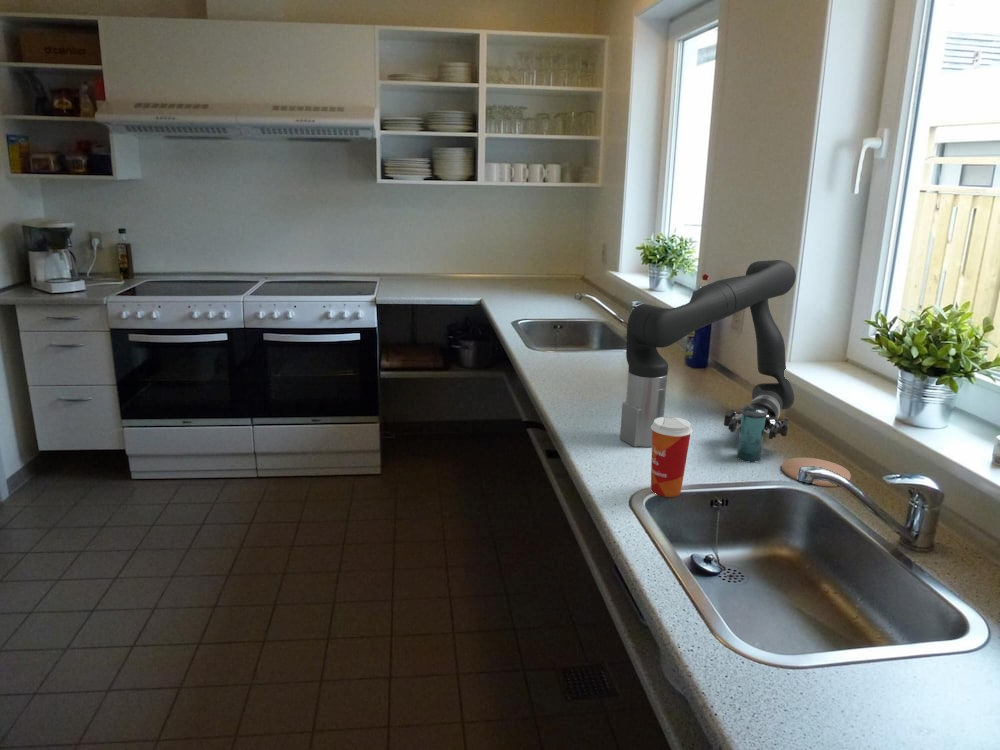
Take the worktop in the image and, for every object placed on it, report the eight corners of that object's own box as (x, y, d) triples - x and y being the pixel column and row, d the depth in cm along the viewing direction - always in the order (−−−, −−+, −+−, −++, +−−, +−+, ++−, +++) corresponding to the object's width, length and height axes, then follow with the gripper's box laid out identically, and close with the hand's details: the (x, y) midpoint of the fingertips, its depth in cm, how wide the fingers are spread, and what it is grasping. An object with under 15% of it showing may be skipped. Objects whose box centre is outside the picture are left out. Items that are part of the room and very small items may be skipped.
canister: (748, 464, 168) (754, 413, 164) (730, 455, 172) (736, 406, 169) (766, 460, 170) (772, 410, 167) (748, 452, 175) (754, 403, 172)
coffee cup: (642, 482, 156) (648, 415, 152) (681, 483, 156) (688, 416, 152) (649, 499, 148) (655, 428, 144) (690, 500, 148) (697, 430, 144)
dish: (819, 490, 154) (820, 486, 154) (768, 467, 166) (768, 462, 166) (864, 480, 160) (865, 475, 160) (811, 457, 172) (812, 453, 172)
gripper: (735, 393, 185) (721, 410, 171) (795, 403, 179) (786, 421, 165) (731, 421, 187) (718, 441, 173) (791, 432, 181) (781, 452, 167)
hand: (751, 431), depth 169 cm, fingers open, 8 cm apart
